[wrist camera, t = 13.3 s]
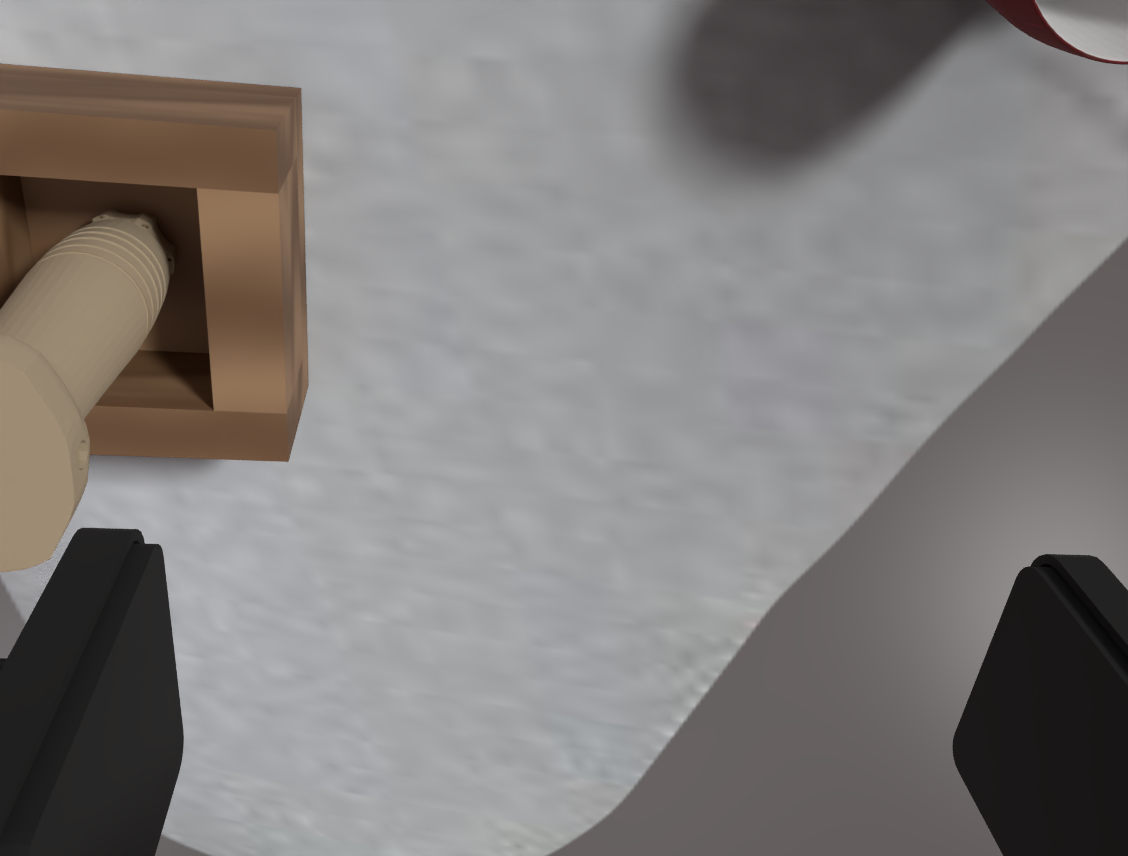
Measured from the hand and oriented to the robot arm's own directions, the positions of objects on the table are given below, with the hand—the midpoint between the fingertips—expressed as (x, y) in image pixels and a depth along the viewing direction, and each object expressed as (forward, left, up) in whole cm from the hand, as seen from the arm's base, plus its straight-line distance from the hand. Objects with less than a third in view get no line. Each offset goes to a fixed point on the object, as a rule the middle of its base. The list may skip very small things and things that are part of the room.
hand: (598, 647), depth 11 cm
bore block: (+7, -13, -30) cm, 34 cm away
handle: (+7, -13, -29) cm, 32 cm away
